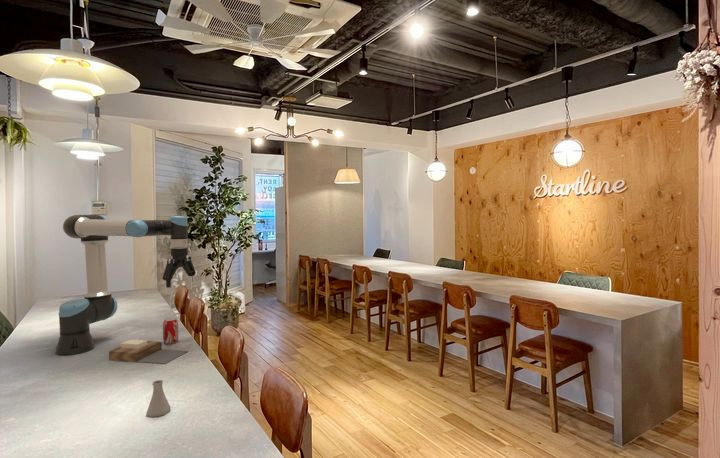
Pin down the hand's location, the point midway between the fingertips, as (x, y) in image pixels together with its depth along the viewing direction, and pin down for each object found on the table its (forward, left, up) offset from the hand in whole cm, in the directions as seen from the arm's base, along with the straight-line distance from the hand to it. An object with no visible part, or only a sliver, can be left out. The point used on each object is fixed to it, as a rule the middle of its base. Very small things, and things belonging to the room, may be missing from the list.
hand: (180, 291), depth 194 cm
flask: (+33, -60, -27) cm, 74 cm away
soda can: (-10, +5, -27) cm, 29 cm away
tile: (-15, -14, -23) cm, 31 cm away
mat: (0, -14, -27) cm, 30 cm away
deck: (-14, -14, -27) cm, 33 cm away
